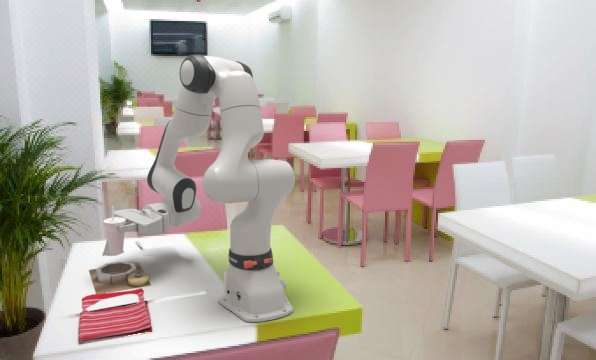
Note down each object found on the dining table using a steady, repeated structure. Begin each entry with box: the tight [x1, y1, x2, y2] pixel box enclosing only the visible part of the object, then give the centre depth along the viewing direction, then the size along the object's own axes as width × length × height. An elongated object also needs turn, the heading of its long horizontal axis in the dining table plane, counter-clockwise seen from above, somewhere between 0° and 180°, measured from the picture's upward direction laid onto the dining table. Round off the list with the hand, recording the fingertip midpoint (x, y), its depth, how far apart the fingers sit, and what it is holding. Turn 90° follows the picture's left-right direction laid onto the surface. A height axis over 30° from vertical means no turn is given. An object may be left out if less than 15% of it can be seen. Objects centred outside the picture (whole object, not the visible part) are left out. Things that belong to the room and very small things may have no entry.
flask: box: [102, 239, 125, 257], centre depth 173 cm, size 7×7×10 cm
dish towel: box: [77, 287, 153, 345], centre depth 131 cm, size 17×24×3 cm
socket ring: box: [95, 261, 137, 284], centre depth 153 cm, size 11×11×2 cm
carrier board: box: [88, 262, 152, 294], centre depth 153 cm, size 20×15×4 cm
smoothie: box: [102, 205, 126, 253], centre depth 151 cm, size 6×6×14 cm
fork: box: [134, 240, 152, 257], centre depth 181 cm, size 3×24×2 cm, turn 29°
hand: (112, 226), depth 150 cm, fingers closed on smoothie, 6 cm apart
